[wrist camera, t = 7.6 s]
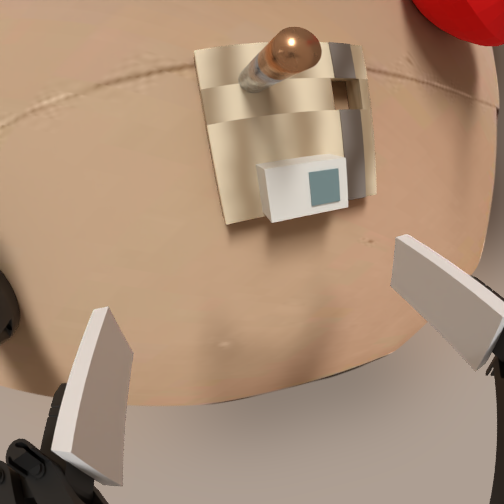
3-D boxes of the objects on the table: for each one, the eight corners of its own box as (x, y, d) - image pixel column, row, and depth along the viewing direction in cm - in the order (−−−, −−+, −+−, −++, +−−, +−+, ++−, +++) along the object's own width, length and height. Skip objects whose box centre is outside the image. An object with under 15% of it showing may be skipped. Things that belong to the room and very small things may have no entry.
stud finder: (262, 211, 29) (272, 223, 25) (255, 164, 26) (265, 169, 23) (332, 198, 30) (349, 207, 26) (329, 153, 27) (346, 158, 24)
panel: (223, 215, 31) (226, 225, 28) (193, 58, 23) (194, 50, 20) (363, 188, 33) (377, 195, 30) (348, 50, 25) (362, 45, 22)
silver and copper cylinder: (240, 94, 23) (278, 70, 12) (236, 68, 22) (270, 26, 11) (269, 91, 23) (325, 69, 13) (265, 65, 22) (317, 27, 12)
